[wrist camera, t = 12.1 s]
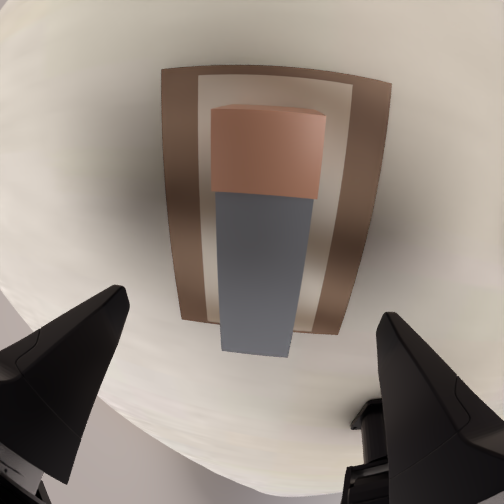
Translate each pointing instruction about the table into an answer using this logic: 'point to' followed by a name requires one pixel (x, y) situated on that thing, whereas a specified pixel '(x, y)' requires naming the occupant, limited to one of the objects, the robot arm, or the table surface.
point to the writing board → (324, 207)
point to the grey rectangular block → (263, 219)
